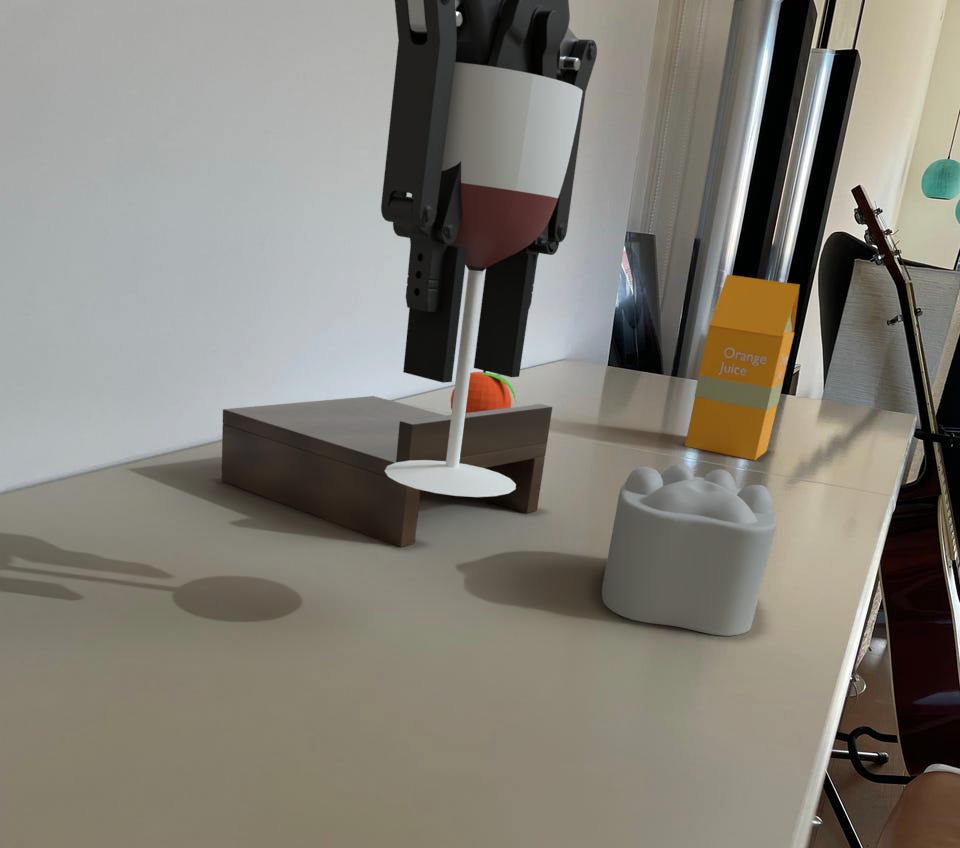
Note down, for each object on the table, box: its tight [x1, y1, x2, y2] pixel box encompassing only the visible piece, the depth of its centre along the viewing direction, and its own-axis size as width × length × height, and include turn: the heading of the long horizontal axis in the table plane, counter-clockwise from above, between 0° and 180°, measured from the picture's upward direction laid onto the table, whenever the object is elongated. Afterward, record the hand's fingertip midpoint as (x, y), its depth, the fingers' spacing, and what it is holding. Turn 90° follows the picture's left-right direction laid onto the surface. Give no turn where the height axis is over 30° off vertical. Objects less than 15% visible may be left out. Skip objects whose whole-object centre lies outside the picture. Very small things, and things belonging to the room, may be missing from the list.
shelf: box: [221, 395, 553, 548], centre depth 82 cm, size 20×18×9 cm
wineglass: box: [385, 62, 583, 498], centre depth 52 cm, size 8×9×20 cm
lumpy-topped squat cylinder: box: [601, 463, 777, 637], centre depth 68 cm, size 10×13×9 cm
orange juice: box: [684, 274, 801, 461], centre depth 119 cm, size 8×9×20 cm
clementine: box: [450, 370, 517, 413], centre depth 112 cm, size 8×7×7 cm
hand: (463, 373), depth 54 cm, fingers closed on wineglass, 5 cm apart
